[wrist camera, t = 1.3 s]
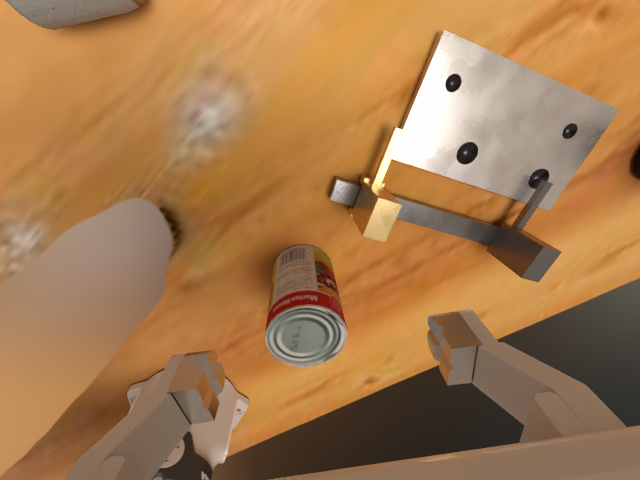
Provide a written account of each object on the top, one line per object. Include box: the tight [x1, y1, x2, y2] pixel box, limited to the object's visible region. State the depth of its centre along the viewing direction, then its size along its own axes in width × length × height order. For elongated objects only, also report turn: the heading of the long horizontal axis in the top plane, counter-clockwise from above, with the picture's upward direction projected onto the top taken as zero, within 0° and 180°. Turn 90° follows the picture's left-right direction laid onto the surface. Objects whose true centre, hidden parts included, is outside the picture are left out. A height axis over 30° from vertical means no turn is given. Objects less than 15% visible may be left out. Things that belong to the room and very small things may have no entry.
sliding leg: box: [348, 127, 403, 242], centre depth 29 cm, size 10×2×8 cm, turn 162°
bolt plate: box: [392, 30, 619, 211], centre depth 31 cm, size 12×22×1 cm, turn 72°
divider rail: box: [329, 176, 561, 282], centre depth 31 cm, size 10×26×8 cm, turn 72°
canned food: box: [265, 245, 347, 367], centre depth 32 cm, size 8×8×12 cm
